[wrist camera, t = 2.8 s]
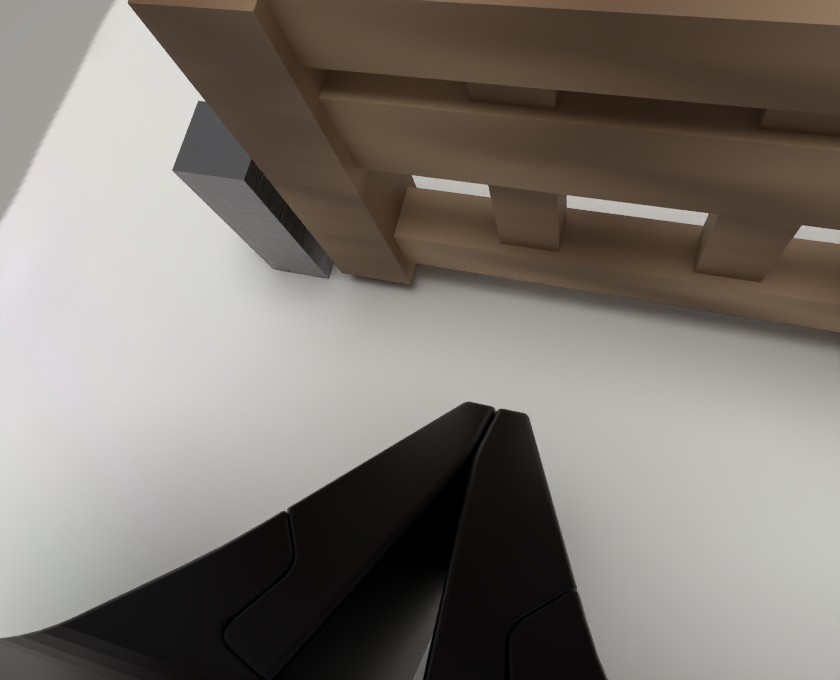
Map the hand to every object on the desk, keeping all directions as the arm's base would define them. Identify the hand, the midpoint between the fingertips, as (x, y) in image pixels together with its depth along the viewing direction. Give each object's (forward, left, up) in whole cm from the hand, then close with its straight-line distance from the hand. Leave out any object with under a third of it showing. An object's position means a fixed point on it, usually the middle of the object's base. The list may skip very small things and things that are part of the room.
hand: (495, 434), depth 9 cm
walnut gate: (+5, -1, -6) cm, 8 cm away
